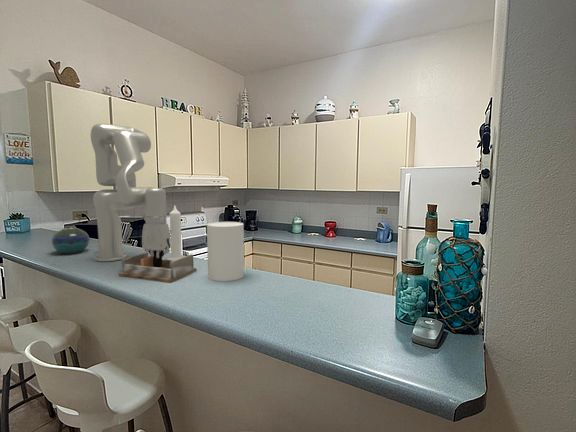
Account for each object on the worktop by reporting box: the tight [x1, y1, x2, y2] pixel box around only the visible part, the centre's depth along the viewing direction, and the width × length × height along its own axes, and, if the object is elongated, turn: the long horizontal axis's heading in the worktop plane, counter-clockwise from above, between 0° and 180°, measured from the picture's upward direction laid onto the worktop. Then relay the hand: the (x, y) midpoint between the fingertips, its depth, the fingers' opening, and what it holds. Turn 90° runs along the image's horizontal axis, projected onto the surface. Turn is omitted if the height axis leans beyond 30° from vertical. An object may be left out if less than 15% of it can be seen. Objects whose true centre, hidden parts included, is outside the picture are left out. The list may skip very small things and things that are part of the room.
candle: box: [168, 205, 183, 260], centre depth 142 cm, size 7×7×25 cm
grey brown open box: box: [118, 252, 197, 283], centre depth 123 cm, size 23×16×7 cm
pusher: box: [141, 255, 153, 267], centre depth 124 cm, size 1×9×5 cm, turn 162°
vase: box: [51, 224, 90, 255], centre depth 156 cm, size 15×15×13 cm
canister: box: [206, 221, 245, 282], centre depth 120 cm, size 14×14×20 cm
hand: (157, 267), depth 123 cm, fingers closed
